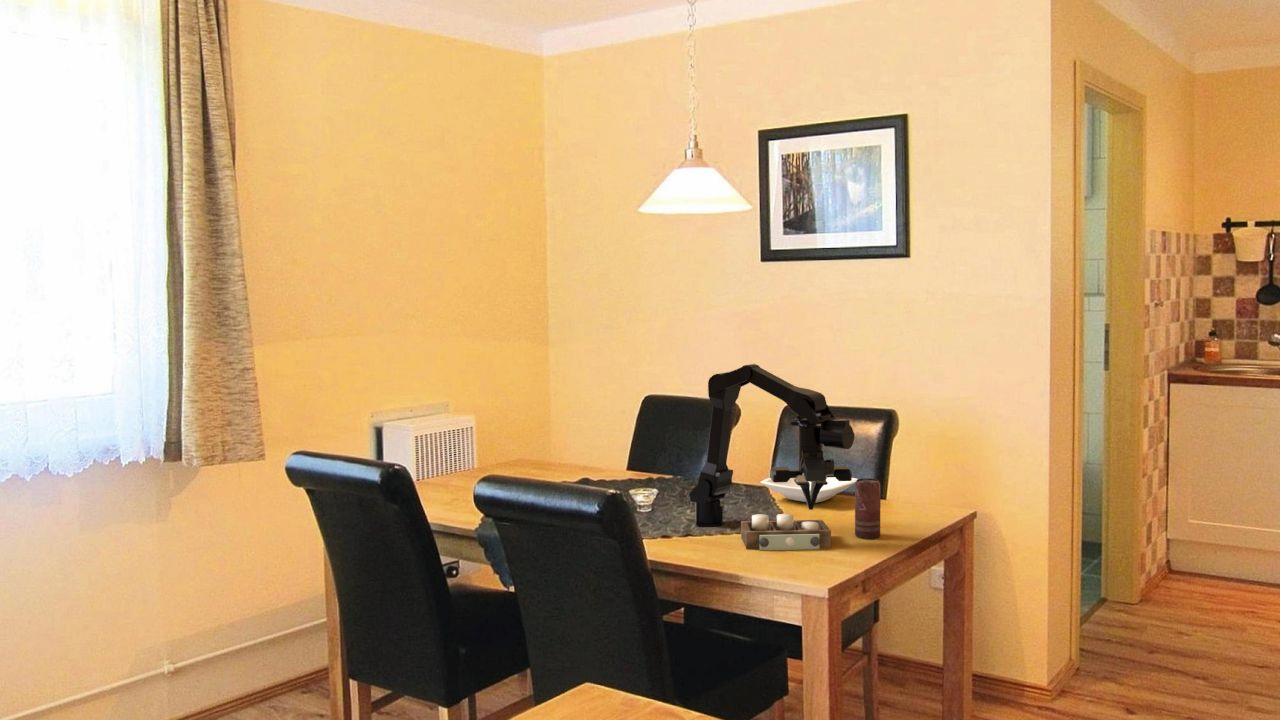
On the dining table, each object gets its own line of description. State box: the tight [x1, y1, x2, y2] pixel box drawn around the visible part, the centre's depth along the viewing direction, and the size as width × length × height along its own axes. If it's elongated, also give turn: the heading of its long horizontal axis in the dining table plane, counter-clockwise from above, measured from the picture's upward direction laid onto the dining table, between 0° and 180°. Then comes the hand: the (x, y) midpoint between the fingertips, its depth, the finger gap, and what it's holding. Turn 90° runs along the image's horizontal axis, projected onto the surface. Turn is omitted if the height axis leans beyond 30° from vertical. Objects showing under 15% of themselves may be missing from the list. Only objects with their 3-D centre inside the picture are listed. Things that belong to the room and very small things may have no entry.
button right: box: [802, 521, 818, 530], centre depth 265 cm, size 4×4×3 cm
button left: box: [751, 513, 770, 530], centre depth 264 cm, size 4×4×3 cm
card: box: [759, 534, 820, 551], centre depth 258 cm, size 14×1×4 cm, turn 91°
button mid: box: [776, 513, 795, 530], centre depth 264 cm, size 4×4×3 cm
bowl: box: [760, 477, 859, 504], centre depth 311 cm, size 22×23×6 cm
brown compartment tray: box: [740, 519, 832, 550], centre depth 265 cm, size 20×11×4 cm, turn 91°
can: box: [854, 478, 882, 540], centre depth 268 cm, size 6×6×14 cm
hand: (810, 509), depth 264 cm, fingers closed
